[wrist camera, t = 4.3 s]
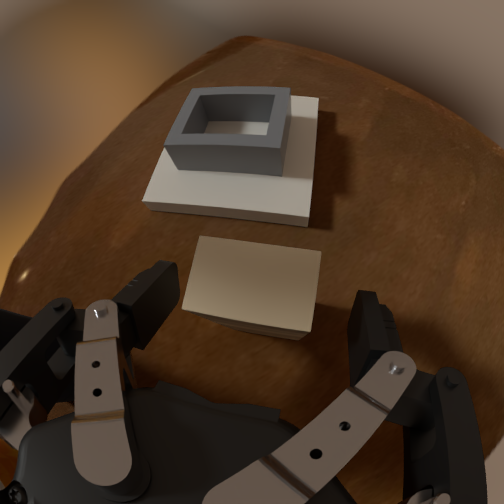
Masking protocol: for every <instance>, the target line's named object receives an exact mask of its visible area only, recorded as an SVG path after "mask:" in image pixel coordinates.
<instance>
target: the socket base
mask: <svg viewBox="0 0 504 504" xmlns="http://www.w3.org/2000/svg"><path fill="white" fill-rule="evenodd" d="M317 116H318V98H313V97H302V96H291V88H283V87H250V86H243V87H210V88H195V89H192V90H191V92H190V93H189V95H188V97H187V99H186V101H185V103H184V105H183V106H182V108H181V110H180V112H179V114H178V116H177V118H176V120H175V122H174V124H173V126H172V128H171V130H170V132H169V134H168V136H167V138H166V141H165V143H164V150H163V152H162V154H161V156H160V159H159V161H158V163H157V166H156V168H155V170H154V173H153V175H152V178H151V180H150V182H149V185H148V187H147V190H146V193H145V195H144V198H143V200H142V201H143V203H144V204H145V205H146V206H147V207H148V208H149V209H150V210H153V211H164V212H176V213H186V214H197V215H207V216H217V217H226V218H236V219H245V220H254V221H262V222H271V223H279V224H287V225H295V226H303V227H308V221H309V212H310V203H311V193H312V183H313V172H314V160H315V147H316V132H317Z"/></svg>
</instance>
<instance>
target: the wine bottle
mask: <svg viewBox="0 0 504 504" xmlns="http://www.w3.org/2000/svg"><path fill="white" fill-rule="evenodd" d="M31 319H32V317H28V316H24V315H20V314H17V313H13V312H10V311H7V310H3V309H0V351H1V350H2V349H3V348H4V347H5V346H6V345H7V344H8V343H9V342H10V341H11V339H12V338H13V337H14V336H15V335H16V334H17V333H18V332H19V331H20V330H21V329H22V328H23V327H24V326H25V325H26V324H27V323H28V322H29V321H30V320H31ZM59 348H60V344H59V342H58V340H57V338H56V339H55V340H54V341H53V342H52V343H51V344H50V346H49V347H48V348H47V349H46V351H45V360H46V362H48V361H49V359H50V358H51V357H52V356H53V355H54V353H55V352H56V351H57V350H58V349H59ZM74 400H75V376H74V378H73V379H72V381H71V382H70V383H69V385H68V386H67V388H66V389H65V390H64V392H63V393H62V395H61V396H60V397H59V399H58V400H57V402H56V403H58V402H68V401H74Z"/></svg>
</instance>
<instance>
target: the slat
mask: <svg viewBox="0 0 504 504" xmlns="http://www.w3.org/2000/svg"><path fill="white" fill-rule="evenodd" d="M320 259H321V251H314V250H307V249H299V248H292V247H284V246H277V245H269V244H262V243H254V242H246V241H238V240H231V239H223V238H215V237H207V236H200V237H199V241H198V244H197V248H196V252H195V256H194V260H193V264H192V268H191V272H190V276H189V280H188V284H187V288H186V293H185V297H184V301H183V306H182V309H183V310H186V311H188V312H191V313H193V314H196V315H198V316H201V317H203V318H206V319H208V320H211V321H213V322H216V323H218V324H221V325H224V326H226V327H229V328H232V329H234V330H239V331H245V332H250V333H256V334H261V335H267V336H273V337H280V338H286V339H293V340H300V339H301V338H303V337H304V336H305V335H307V334H308V333H310V332H311V326H312V320H313V313H314V306H315V299H316V292H317V284H318V276H319V268H320Z"/></svg>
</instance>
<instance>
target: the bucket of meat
mask: <svg viewBox="0 0 504 504" xmlns="http://www.w3.org/2000/svg"><path fill="white" fill-rule="evenodd" d="M17 459H18V450H15V449H13V448H12V447H10V446H9V445H8V444H7V443H6V442H5V441H4V440H3V439H1V438H0V490H3V489H4V488H6V487H7V486H8V485H9V484H10V483H11V481H12V479H13V477H14V473H15V470H16V465H17Z"/></svg>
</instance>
